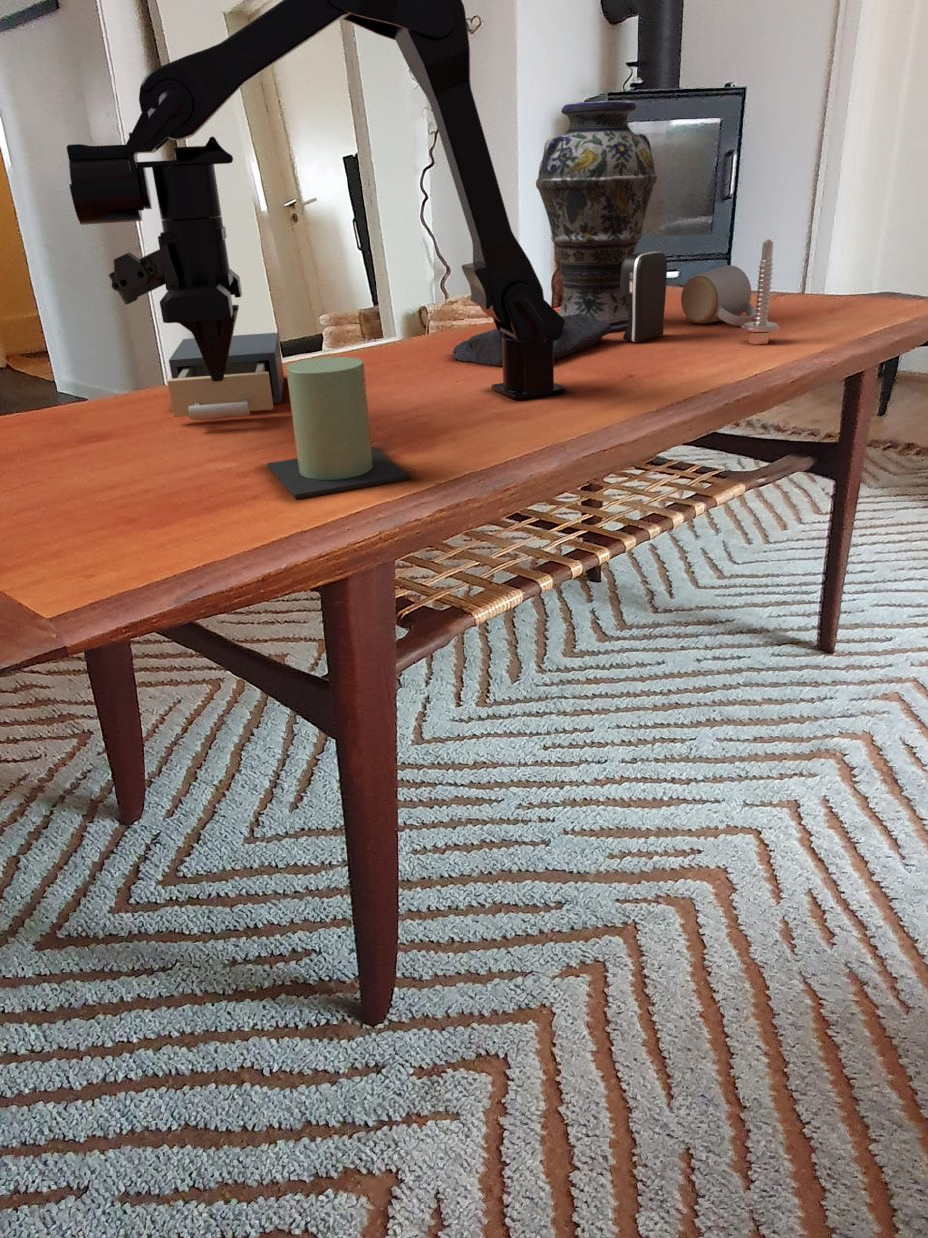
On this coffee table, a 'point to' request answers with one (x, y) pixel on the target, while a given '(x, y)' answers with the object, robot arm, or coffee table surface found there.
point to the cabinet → (238, 357)
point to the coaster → (308, 487)
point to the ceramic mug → (718, 297)
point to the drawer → (221, 391)
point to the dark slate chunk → (572, 339)
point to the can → (330, 417)
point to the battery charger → (644, 294)
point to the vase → (596, 205)
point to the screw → (762, 300)
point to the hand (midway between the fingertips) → (218, 380)
